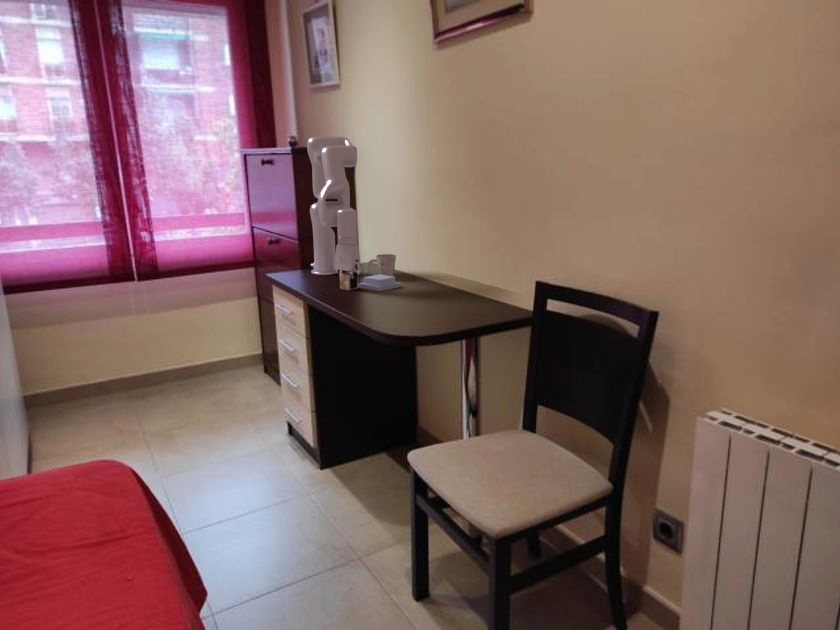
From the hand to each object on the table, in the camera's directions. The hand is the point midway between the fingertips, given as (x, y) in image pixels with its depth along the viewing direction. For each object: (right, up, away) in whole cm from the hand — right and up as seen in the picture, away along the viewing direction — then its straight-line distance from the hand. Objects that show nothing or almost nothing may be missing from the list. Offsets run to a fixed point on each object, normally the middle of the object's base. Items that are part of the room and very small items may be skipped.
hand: (349, 286), depth 234 cm
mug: (+12, +4, +20) cm, 24 cm away
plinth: (+12, 0, +3) cm, 12 cm away
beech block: (0, -1, 0) cm, 1 cm away
